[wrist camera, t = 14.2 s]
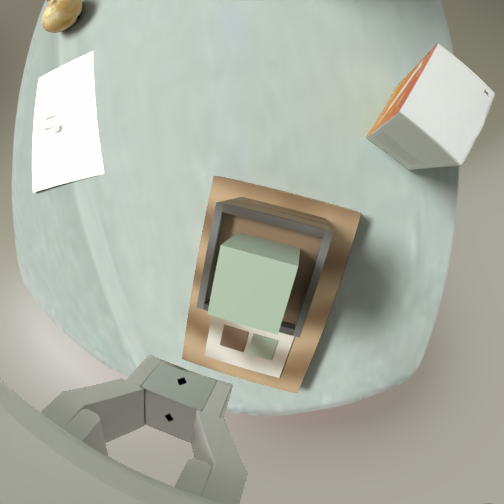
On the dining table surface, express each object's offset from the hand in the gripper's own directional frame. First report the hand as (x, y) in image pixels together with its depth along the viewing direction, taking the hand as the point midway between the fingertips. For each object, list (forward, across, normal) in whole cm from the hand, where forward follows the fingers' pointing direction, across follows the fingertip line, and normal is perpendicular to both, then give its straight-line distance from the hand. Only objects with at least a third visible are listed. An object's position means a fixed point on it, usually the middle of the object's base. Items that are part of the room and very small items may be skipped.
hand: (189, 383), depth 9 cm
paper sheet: (+26, +30, -12) cm, 41 cm away
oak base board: (+25, 0, +7) cm, 26 cm away
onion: (+26, +43, -30) cm, 58 cm away
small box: (+26, -11, -16) cm, 32 cm away
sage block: (+15, 0, 0) cm, 15 cm away
